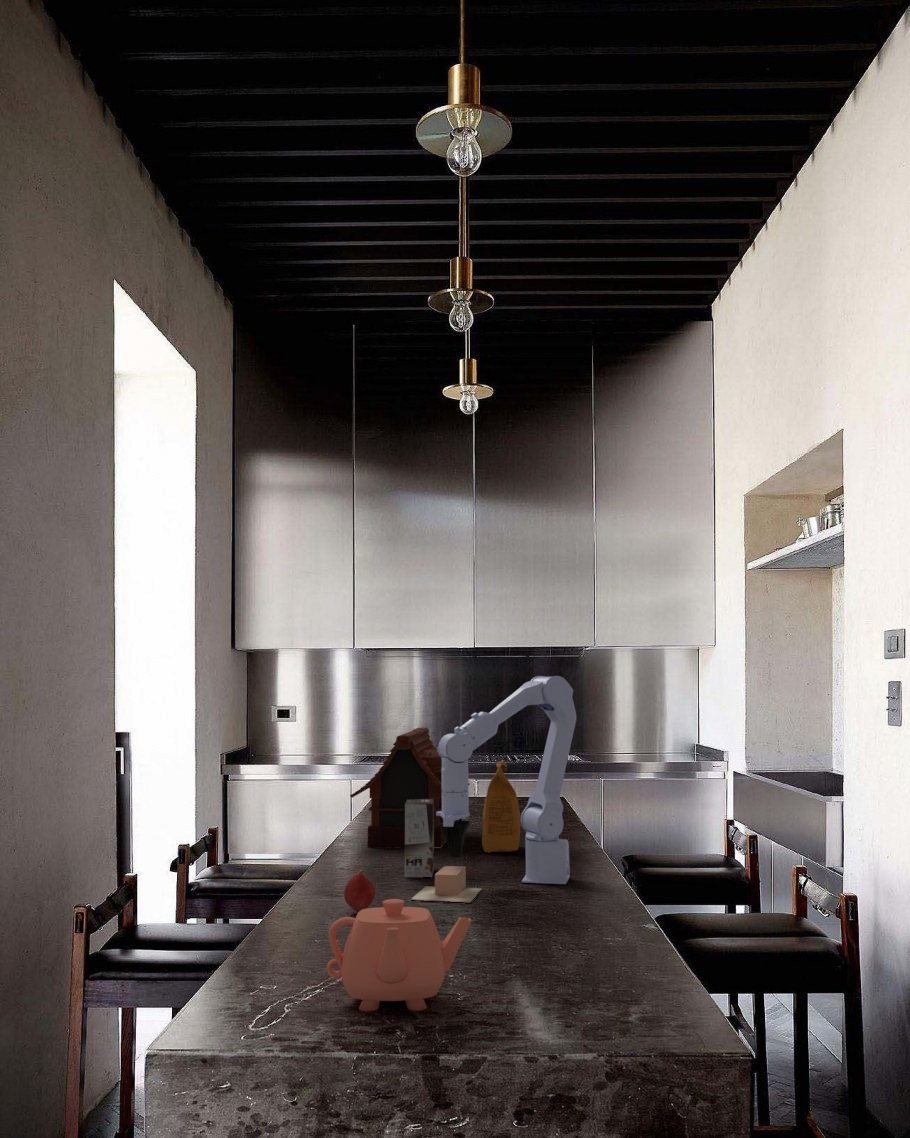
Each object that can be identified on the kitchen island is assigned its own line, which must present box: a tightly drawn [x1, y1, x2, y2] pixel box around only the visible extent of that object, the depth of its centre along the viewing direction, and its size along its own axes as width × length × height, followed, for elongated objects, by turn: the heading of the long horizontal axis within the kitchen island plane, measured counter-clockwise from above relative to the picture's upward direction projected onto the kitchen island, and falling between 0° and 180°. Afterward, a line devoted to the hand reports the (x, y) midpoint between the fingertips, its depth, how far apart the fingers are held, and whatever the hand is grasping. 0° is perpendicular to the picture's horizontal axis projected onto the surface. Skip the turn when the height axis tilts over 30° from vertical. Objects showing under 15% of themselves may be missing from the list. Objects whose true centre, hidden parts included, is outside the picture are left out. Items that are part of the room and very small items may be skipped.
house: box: [349, 727, 471, 849], centre depth 277 cm, size 35×28×29 cm
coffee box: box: [404, 799, 435, 878], centre depth 229 cm, size 9×6×16 cm
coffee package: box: [481, 760, 522, 854], centre depth 258 cm, size 10×12×22 cm
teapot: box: [326, 898, 472, 1012], centre depth 141 cm, size 16×17×14 cm
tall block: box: [434, 865, 467, 896], centre depth 209 cm, size 4×4×9 cm
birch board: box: [410, 885, 483, 902], centre depth 205 cm, size 12×12×1 cm
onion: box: [343, 869, 376, 914], centre depth 192 cm, size 6×6×8 cm
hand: (455, 856), depth 214 cm, fingers closed
